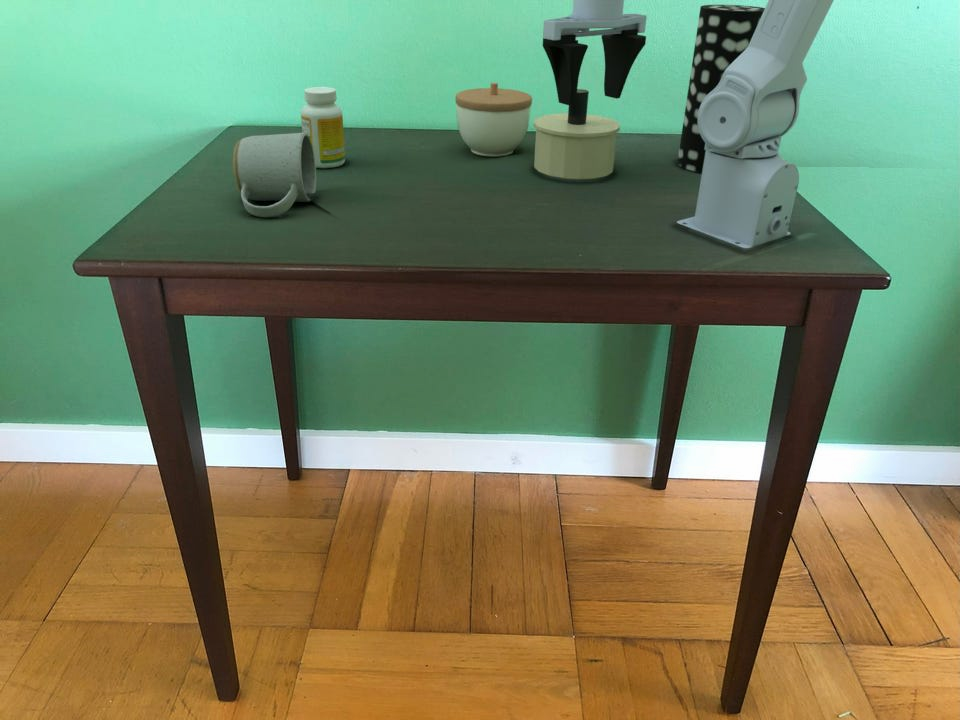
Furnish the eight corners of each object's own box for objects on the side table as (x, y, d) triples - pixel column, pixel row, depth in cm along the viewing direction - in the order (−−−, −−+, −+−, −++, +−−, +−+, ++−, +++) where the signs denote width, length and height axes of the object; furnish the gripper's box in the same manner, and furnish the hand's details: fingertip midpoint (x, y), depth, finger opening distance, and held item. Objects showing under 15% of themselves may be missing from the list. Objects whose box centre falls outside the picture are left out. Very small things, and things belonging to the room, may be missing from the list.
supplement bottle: (298, 167, 102) (291, 92, 97) (314, 156, 107) (308, 84, 102) (337, 170, 101) (331, 94, 96) (351, 159, 106) (346, 86, 101)
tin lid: (637, 134, 100) (642, 93, 97) (573, 146, 94) (576, 103, 91) (578, 117, 107) (581, 79, 105) (515, 128, 101) (517, 87, 99)
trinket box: (523, 163, 106) (526, 93, 101) (447, 157, 107) (447, 88, 103) (534, 144, 115) (537, 78, 110) (464, 139, 117) (464, 74, 112)
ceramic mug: (251, 188, 94) (243, 124, 90) (319, 189, 94) (313, 125, 90) (228, 219, 85) (217, 150, 81) (302, 220, 85) (295, 151, 81)
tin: (628, 174, 102) (633, 129, 99) (570, 187, 97) (574, 140, 94) (575, 156, 109) (578, 114, 106) (518, 168, 104) (520, 123, 101)
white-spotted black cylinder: (716, 177, 102) (745, 13, 92) (665, 163, 107) (687, 6, 97) (750, 166, 107) (781, 9, 97) (700, 154, 112) (724, 3, 102)
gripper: (621, -29, 93) (609, 88, 99) (528, -27, 85) (522, 100, 92) (665, -25, 88) (649, 98, 95) (571, -22, 80) (561, 111, 87)
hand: (589, 100), depth 93 cm, fingers open, 7 cm apart
